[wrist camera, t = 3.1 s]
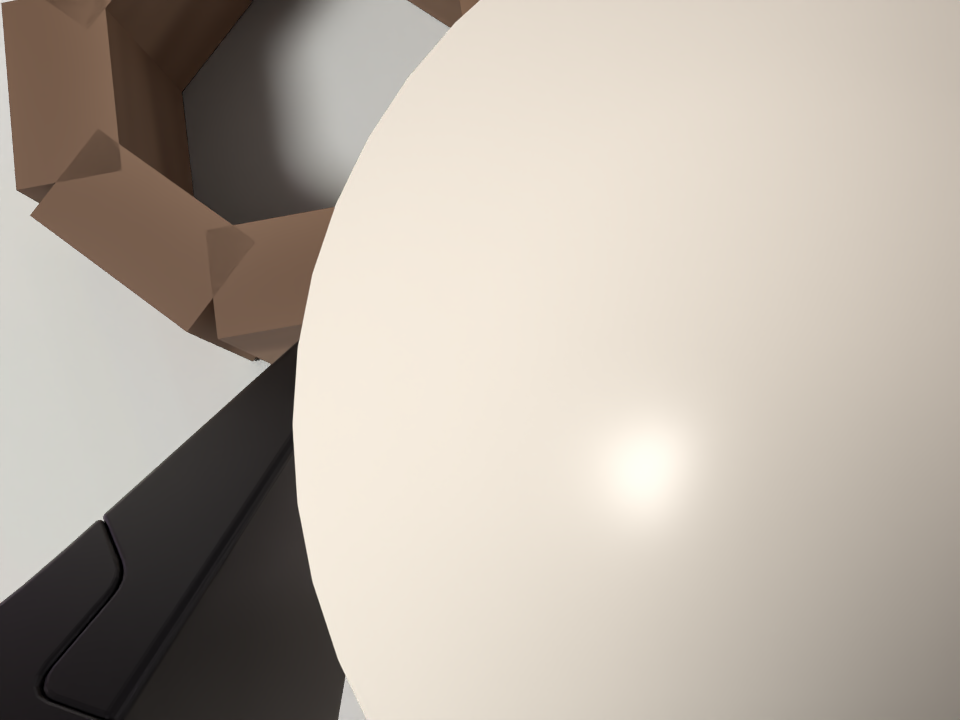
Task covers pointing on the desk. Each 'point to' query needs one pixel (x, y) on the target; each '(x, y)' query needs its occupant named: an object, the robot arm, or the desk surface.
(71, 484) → the desk surface
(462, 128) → the cream tapered cylinder
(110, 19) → the brown segmented ring
